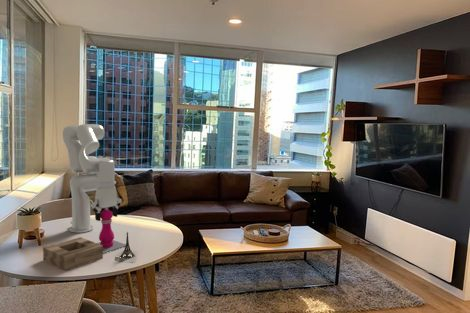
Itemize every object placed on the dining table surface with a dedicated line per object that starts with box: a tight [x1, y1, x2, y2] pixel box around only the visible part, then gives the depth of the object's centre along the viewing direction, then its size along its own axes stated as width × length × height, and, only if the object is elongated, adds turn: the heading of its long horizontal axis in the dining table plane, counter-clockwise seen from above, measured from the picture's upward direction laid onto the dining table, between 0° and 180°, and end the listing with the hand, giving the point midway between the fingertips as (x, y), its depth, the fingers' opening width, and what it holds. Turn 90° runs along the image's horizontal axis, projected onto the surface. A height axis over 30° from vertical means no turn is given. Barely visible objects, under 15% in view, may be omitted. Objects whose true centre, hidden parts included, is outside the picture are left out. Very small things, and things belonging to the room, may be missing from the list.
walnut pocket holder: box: [42, 236, 104, 272], centre depth 160 cm, size 18×18×6 cm
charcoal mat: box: [96, 239, 126, 255], centre depth 177 cm, size 14×14×1 cm
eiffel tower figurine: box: [114, 231, 136, 264], centre depth 165 cm, size 15×10×13 cm
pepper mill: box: [98, 207, 115, 248], centre depth 176 cm, size 7×7×20 cm
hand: (106, 218), depth 176 cm, fingers open, 9 cm apart
